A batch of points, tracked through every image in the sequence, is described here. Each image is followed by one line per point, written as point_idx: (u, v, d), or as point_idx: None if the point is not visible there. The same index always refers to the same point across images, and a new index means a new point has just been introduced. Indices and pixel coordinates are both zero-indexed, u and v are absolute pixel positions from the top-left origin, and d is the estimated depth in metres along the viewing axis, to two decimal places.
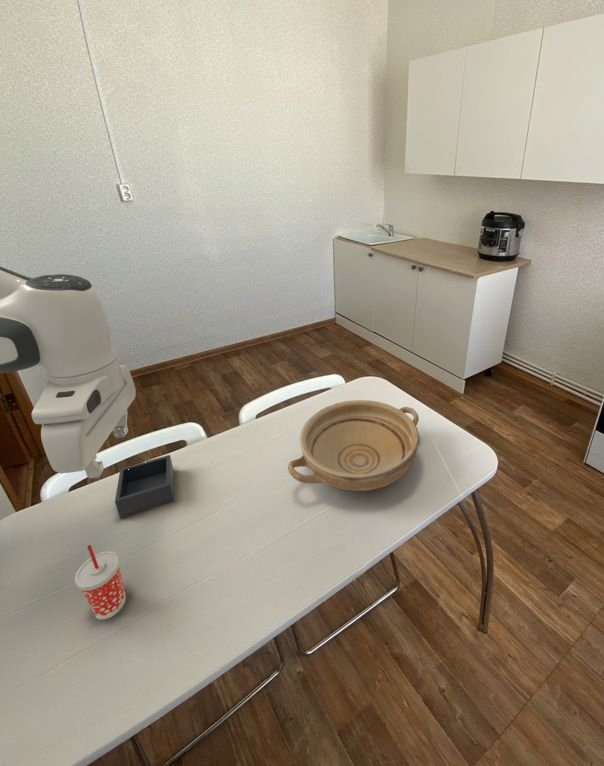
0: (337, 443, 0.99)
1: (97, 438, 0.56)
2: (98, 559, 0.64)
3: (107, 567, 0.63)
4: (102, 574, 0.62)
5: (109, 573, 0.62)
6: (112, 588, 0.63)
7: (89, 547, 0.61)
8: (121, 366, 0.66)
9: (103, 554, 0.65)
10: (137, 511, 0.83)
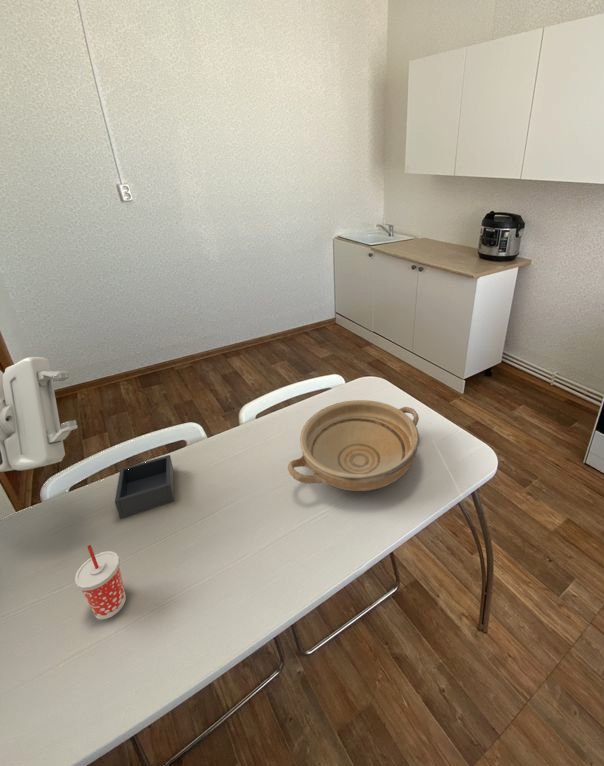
0: (337, 443, 0.99)
1: (34, 439, 0.68)
2: (98, 559, 0.64)
3: (107, 567, 0.63)
4: (102, 574, 0.62)
5: (109, 573, 0.62)
6: (112, 588, 0.63)
7: (89, 547, 0.61)
8: None
9: (103, 554, 0.65)
10: (137, 511, 0.83)
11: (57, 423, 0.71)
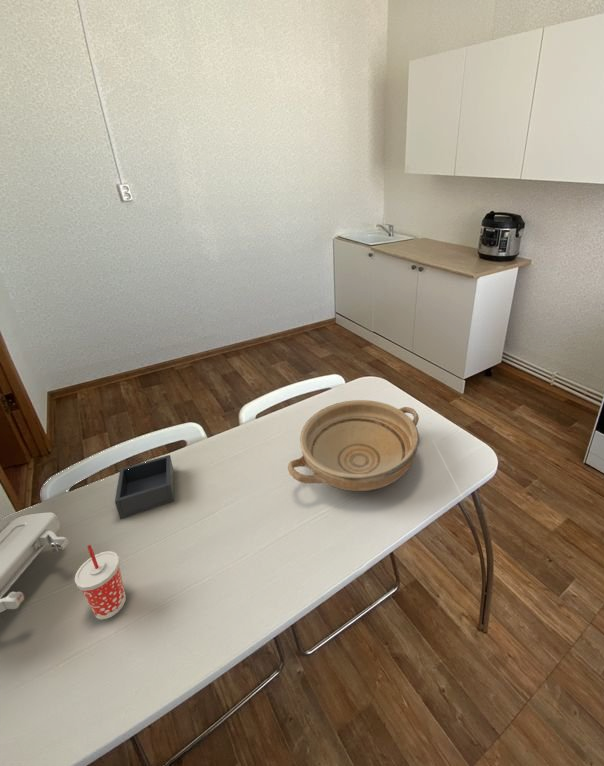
0: (337, 443, 0.99)
1: None
2: (98, 559, 0.64)
3: (107, 567, 0.63)
4: (102, 574, 0.62)
5: (109, 573, 0.62)
6: (112, 588, 0.63)
7: (89, 547, 0.61)
8: (9, 524, 0.70)
9: (103, 554, 0.65)
10: (137, 511, 0.83)
11: (1, 594, 0.61)
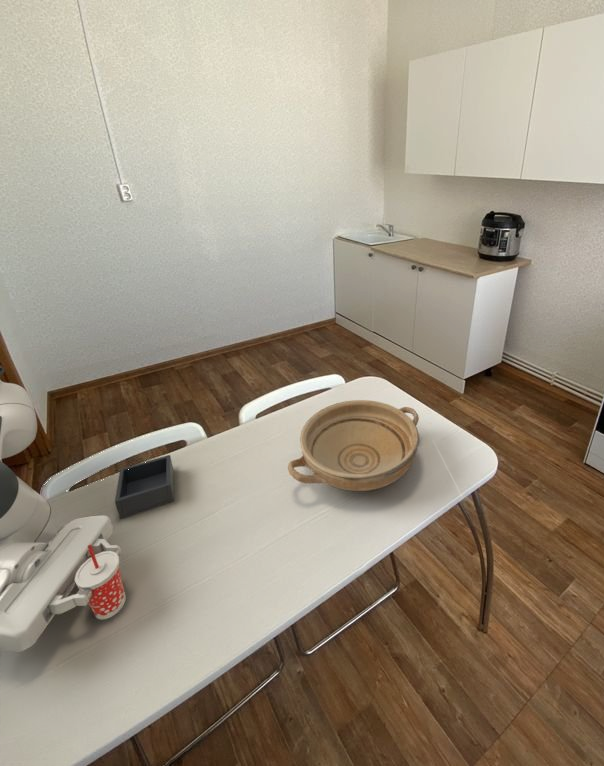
0: (337, 443, 0.99)
1: (36, 598, 0.58)
2: (98, 558, 0.64)
3: (107, 567, 0.63)
4: (102, 573, 0.62)
5: (109, 573, 0.62)
6: (112, 587, 0.63)
7: (89, 547, 0.61)
8: (64, 527, 0.70)
9: (103, 554, 0.65)
10: (137, 511, 0.83)
11: None
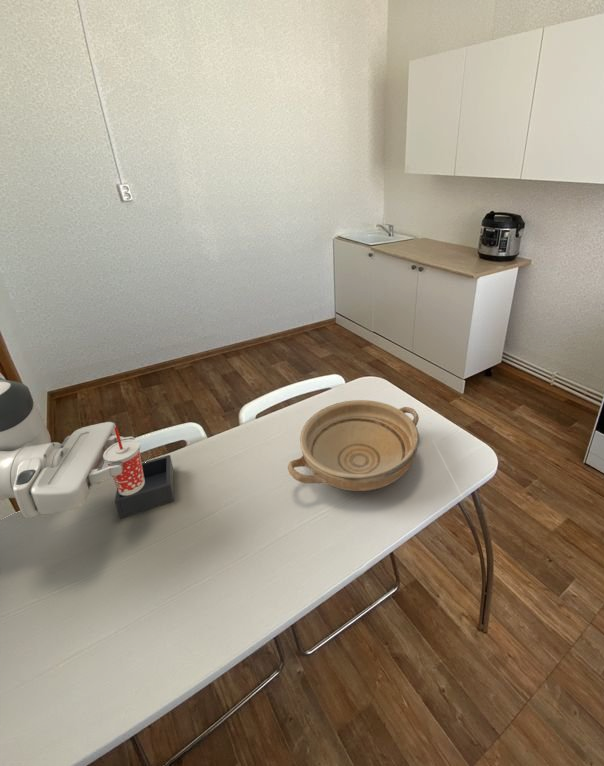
0: (337, 443, 0.99)
1: (75, 472, 0.67)
2: (118, 445, 0.74)
3: (131, 447, 0.74)
4: (128, 451, 0.73)
5: (134, 450, 0.73)
6: (137, 464, 0.74)
7: (116, 428, 0.71)
8: None
9: (121, 442, 0.75)
10: (137, 511, 0.83)
11: None
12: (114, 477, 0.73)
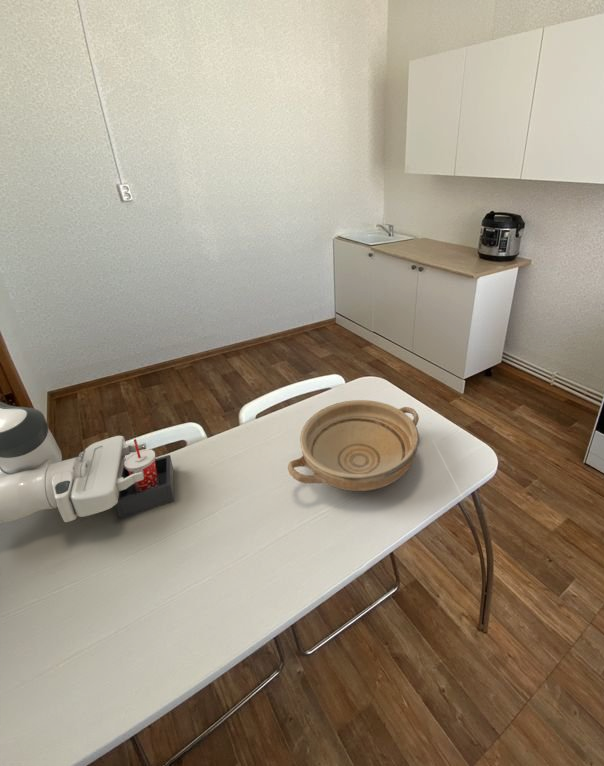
0: (337, 443, 0.99)
1: (104, 478, 0.78)
2: (135, 455, 0.86)
3: (147, 456, 0.86)
4: (146, 459, 0.85)
5: (152, 457, 0.86)
6: (154, 468, 0.86)
7: (135, 440, 0.83)
8: (86, 450, 0.87)
9: (137, 452, 0.87)
10: (137, 511, 0.83)
11: None
12: (135, 482, 0.85)
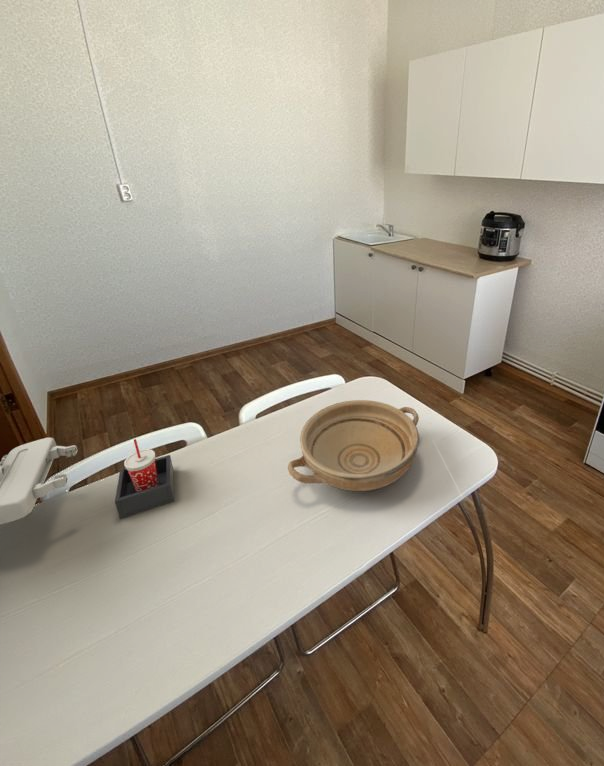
0: (337, 443, 0.99)
1: (20, 484, 0.72)
2: (135, 455, 0.86)
3: (147, 456, 0.86)
4: (146, 459, 0.85)
5: (152, 457, 0.86)
6: (154, 468, 0.86)
7: (135, 440, 0.83)
8: (9, 453, 0.80)
9: (137, 452, 0.87)
10: (137, 511, 0.83)
11: None
12: (135, 482, 0.85)
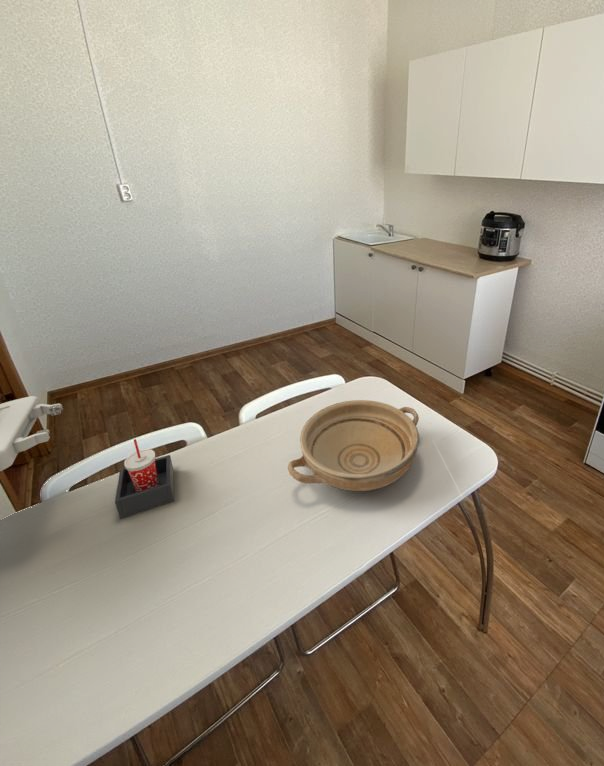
0: (337, 443, 0.99)
1: None
2: (135, 455, 0.86)
3: (147, 456, 0.86)
4: (146, 459, 0.85)
5: (152, 457, 0.86)
6: (154, 468, 0.86)
7: (135, 440, 0.83)
8: None
9: (137, 452, 0.87)
10: (137, 511, 0.83)
11: None
12: (135, 482, 0.85)
